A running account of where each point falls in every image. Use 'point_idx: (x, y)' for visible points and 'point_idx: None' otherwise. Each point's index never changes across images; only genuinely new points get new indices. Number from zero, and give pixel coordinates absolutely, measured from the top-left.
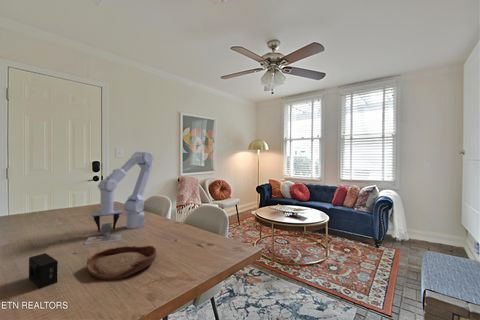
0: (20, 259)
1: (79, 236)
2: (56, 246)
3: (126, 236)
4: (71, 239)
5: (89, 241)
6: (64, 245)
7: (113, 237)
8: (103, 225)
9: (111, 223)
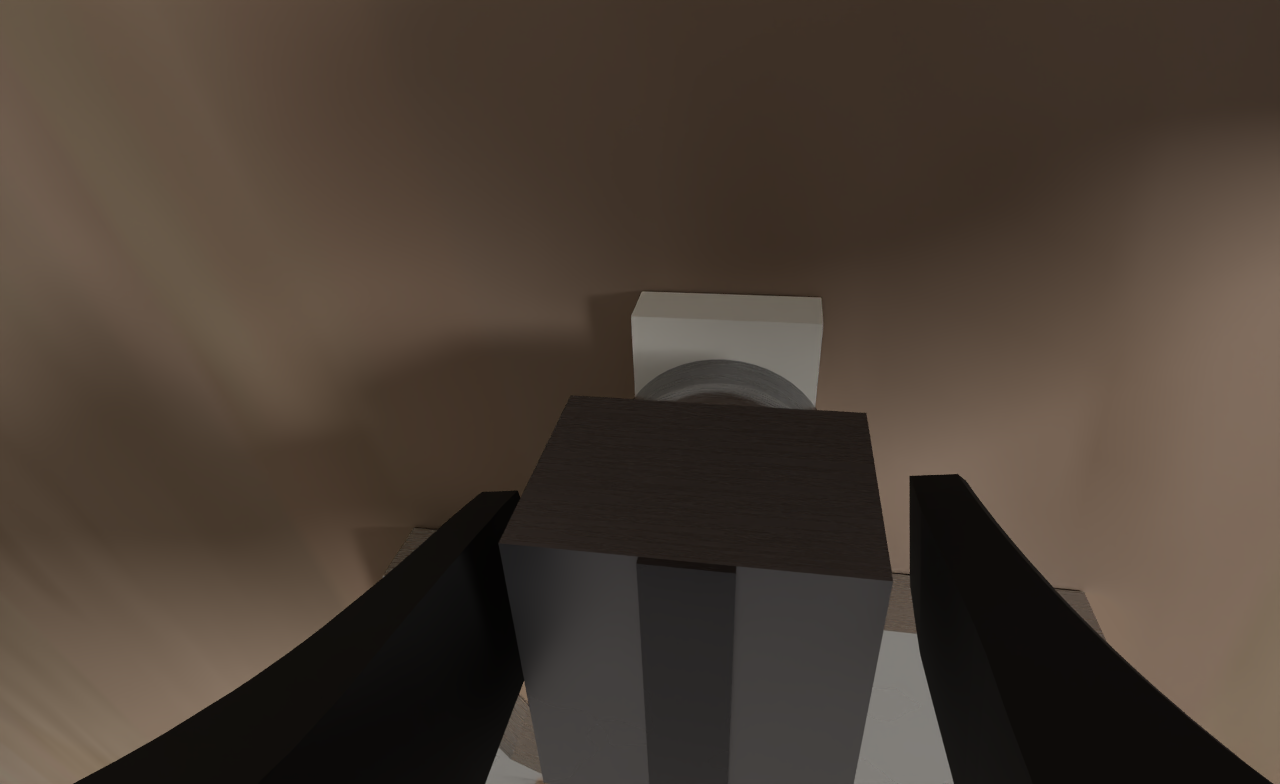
0: (4, 761)
1: (49, 147)
2: (58, 576)
3: (1210, 598)
4: (30, 321)
5: (494, 760)
6: (145, 583)
7: (893, 768)
8: (593, 745)
9: (877, 640)
